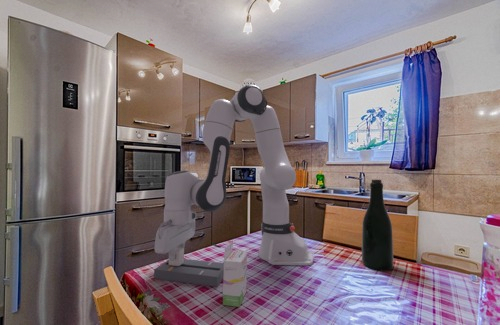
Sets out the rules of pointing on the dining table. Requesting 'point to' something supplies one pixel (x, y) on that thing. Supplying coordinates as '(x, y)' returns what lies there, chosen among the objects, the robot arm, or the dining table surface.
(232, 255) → the ink box
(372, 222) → the beer bottle
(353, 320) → the dining table surface
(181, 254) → the fader cap
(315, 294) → the dining table surface
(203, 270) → the slider console
